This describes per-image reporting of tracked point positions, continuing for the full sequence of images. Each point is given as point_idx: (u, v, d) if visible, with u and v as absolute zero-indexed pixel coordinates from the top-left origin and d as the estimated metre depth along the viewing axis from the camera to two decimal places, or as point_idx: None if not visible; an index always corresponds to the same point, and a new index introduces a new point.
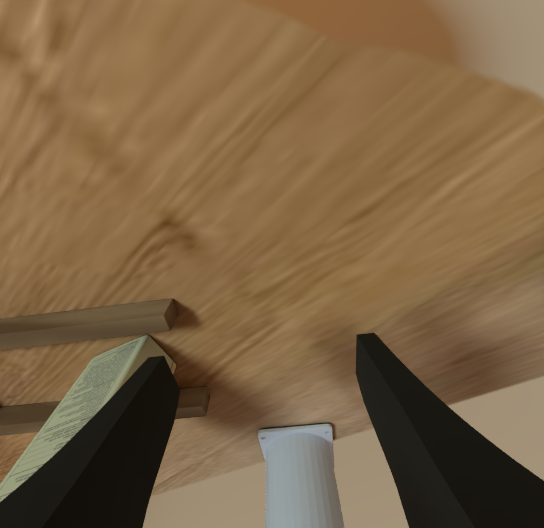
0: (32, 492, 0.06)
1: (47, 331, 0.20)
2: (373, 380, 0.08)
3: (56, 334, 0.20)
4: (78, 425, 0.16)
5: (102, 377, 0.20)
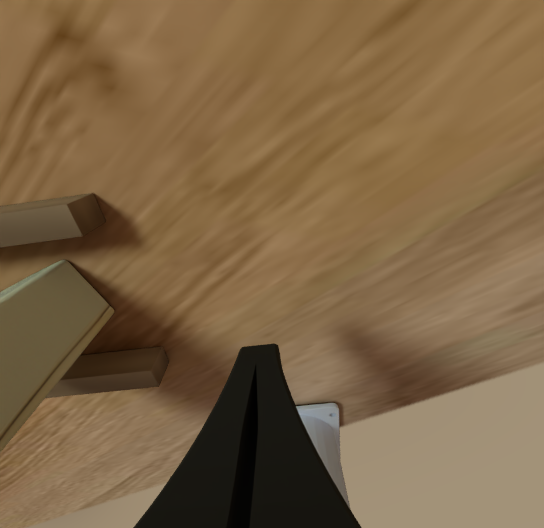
0: (194, 478, 0.05)
1: None
2: None
3: None
4: None
5: None
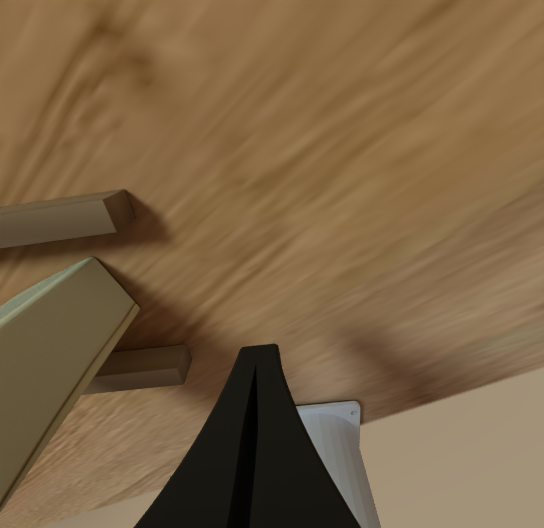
0: (195, 478, 0.05)
1: None
2: None
3: None
4: None
5: (7, 307, 0.12)
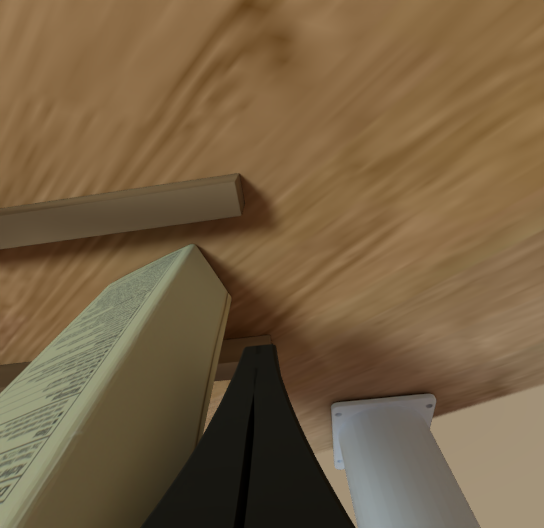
0: (201, 479, 0.05)
1: (39, 216, 0.12)
2: None
3: (54, 222, 0.12)
4: (92, 350, 0.09)
5: (129, 293, 0.12)
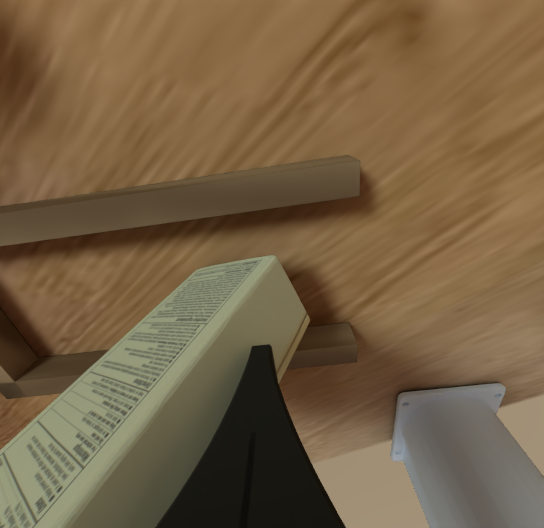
0: (215, 478, 0.05)
1: (158, 196, 0.12)
2: None
3: (171, 202, 0.12)
4: (127, 391, 0.08)
5: (194, 307, 0.11)
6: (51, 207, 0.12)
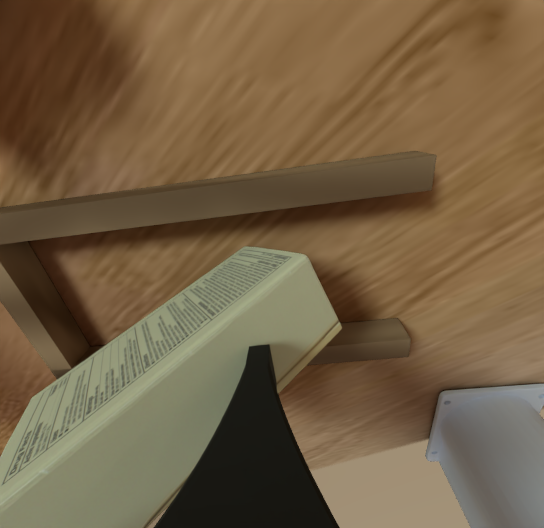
0: (214, 478, 0.05)
1: (235, 188, 0.12)
2: None
3: (247, 194, 0.12)
4: (136, 363, 0.10)
5: (215, 294, 0.11)
6: (132, 197, 0.13)
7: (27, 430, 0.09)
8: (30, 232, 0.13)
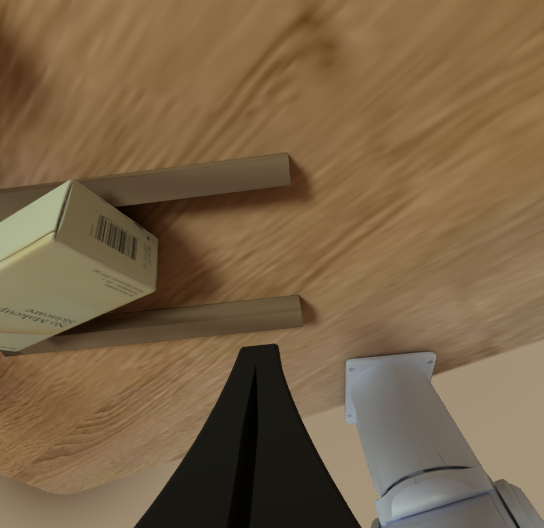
0: (195, 479, 0.05)
1: (130, 182, 0.15)
2: None
3: (141, 187, 0.15)
4: None
5: None
6: (45, 189, 0.15)
7: None
8: None
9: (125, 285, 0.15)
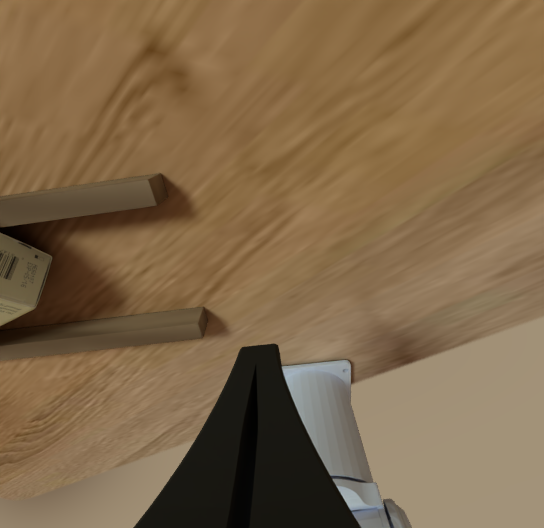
0: (194, 479, 0.05)
1: (2, 205, 0.16)
2: None
3: (13, 210, 0.16)
4: None
5: None
6: None
7: None
8: None
9: None
